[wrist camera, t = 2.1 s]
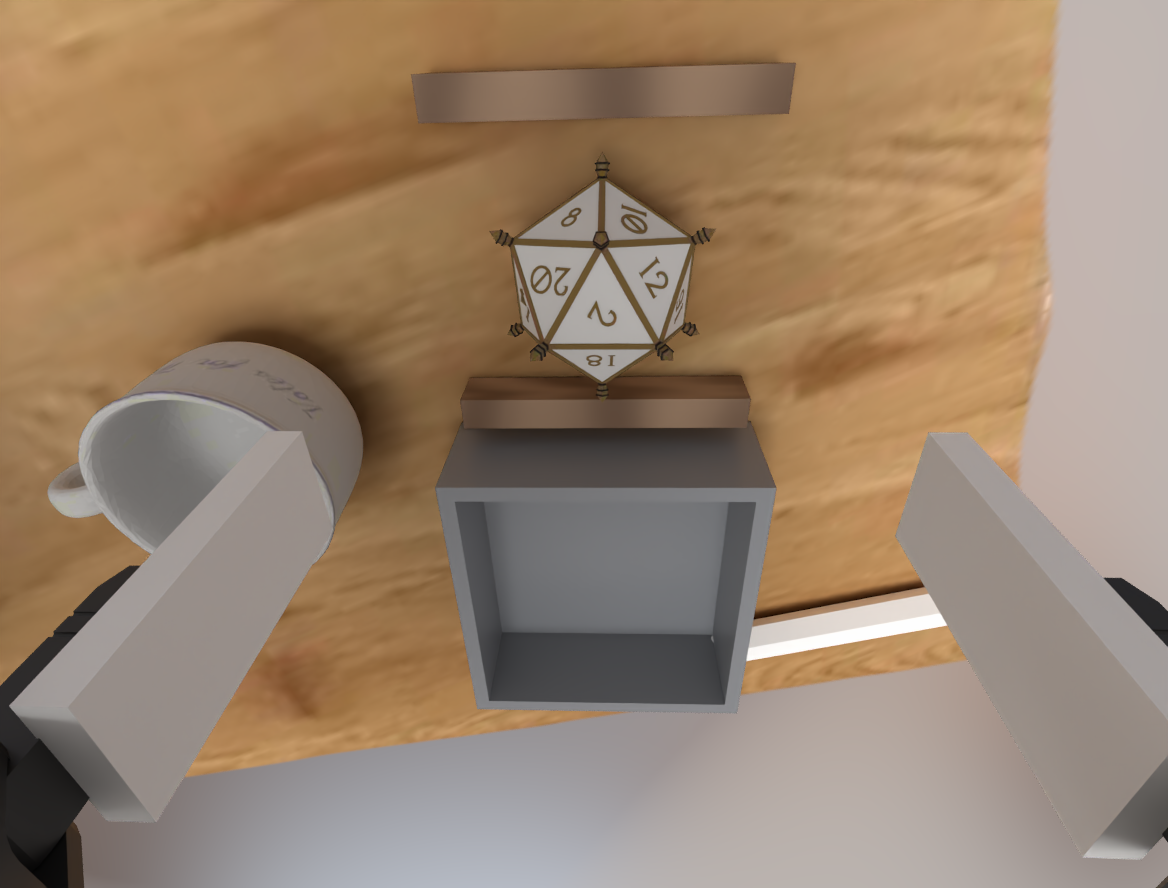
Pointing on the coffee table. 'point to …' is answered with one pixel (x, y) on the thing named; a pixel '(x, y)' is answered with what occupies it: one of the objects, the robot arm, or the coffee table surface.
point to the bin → (606, 564)
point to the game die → (602, 281)
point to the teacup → (206, 437)
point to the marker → (843, 623)
